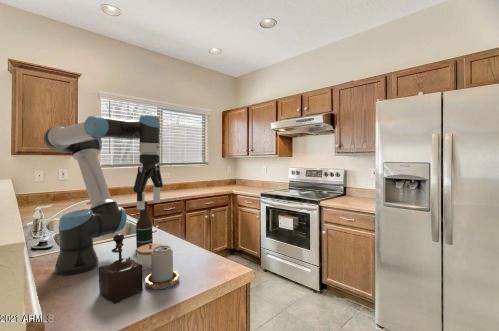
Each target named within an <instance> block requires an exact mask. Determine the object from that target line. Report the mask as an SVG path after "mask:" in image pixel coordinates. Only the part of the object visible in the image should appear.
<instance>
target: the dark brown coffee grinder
mask: <svg viewBox="0 0 499 331" xmlns="http://www.w3.org/2000/svg"><path fill="white" fill-rule="evenodd" d="M112 239H113V241H114V243H115V248H113V249H111V253H115V254H117V253H118V259H117V260H115V261H113V262H111V263H108V264H106V265H103V266H100V267H99V268H98V269H97V270H98V288H99V295H100V296H101V297H102V298H103V299H105V300H106V301H108V302H110V303H111V304H117V303H120V302H123V301H124V300H127V299H129V298H131V297H133V296H135V295H138V294H139V293H141V292H143V291H144V288H143V284H144V283H143V280H144V278H143V266H142V265H141V264H140V263H139V262H136V261H135V260H134V259H132V258H131V256H129V257H127V258H123V255H122V252H123V246H124V242H123V241H124V239H125V236H124V234H122V233H116V234H115V235H114V236H113V238H112Z"/></svg>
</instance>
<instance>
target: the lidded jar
mask: <svg viewBox="0 0 499 331" xmlns="http://www.w3.org/2000/svg"><path fill="white" fill-rule="evenodd" d="M162 245H163V244H161V243H153V244H147V245H143V246H140V247H139V248H138V249H137V248H136V254H137V255H136V256H137V257H136V258H137V261H138V263H139V264H141V265H142V268H144V269H152V263H151V253H152V252H153V251H154V250H153V249H154V248H155V247H157V246H162Z"/></svg>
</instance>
